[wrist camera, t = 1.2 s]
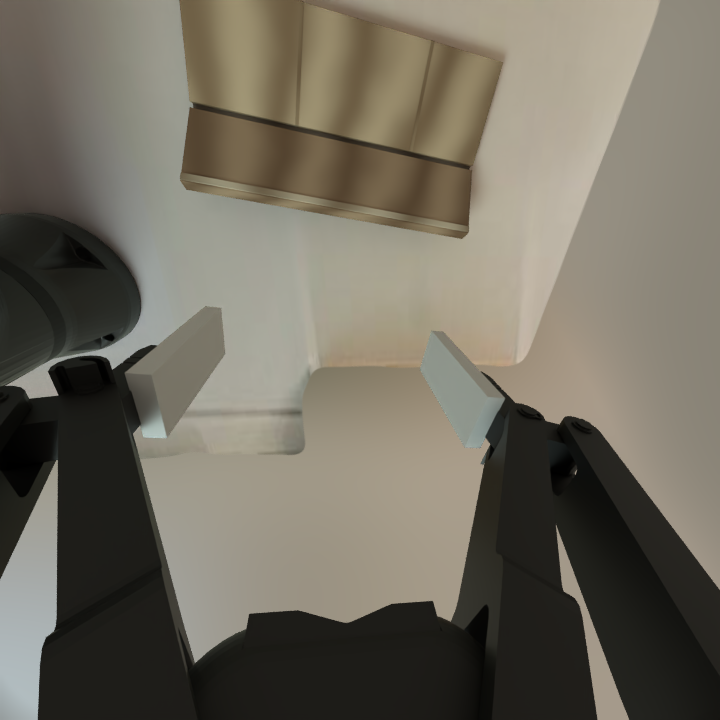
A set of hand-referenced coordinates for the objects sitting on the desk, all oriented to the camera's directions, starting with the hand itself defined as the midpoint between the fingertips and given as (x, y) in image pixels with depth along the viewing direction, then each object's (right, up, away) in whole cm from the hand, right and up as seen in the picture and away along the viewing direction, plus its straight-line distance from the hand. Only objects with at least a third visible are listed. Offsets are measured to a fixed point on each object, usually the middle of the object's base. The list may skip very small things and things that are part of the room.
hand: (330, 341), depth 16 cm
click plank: (-1, +17, +12) cm, 21 cm away
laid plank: (+1, +25, +10) cm, 27 cm away
